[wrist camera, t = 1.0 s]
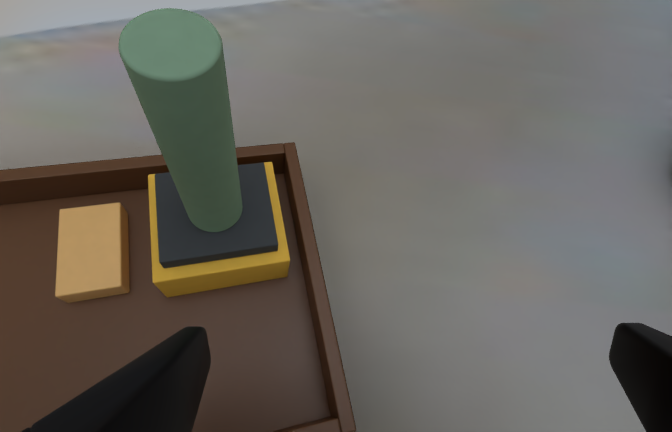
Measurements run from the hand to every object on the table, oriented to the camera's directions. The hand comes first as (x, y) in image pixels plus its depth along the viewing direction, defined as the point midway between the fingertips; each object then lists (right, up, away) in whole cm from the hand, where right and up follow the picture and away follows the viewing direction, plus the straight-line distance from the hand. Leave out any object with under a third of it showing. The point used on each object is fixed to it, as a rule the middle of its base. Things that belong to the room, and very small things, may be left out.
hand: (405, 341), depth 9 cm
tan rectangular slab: (-12, +1, +9) cm, 16 cm away
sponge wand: (-7, +2, +11) cm, 13 cm away
